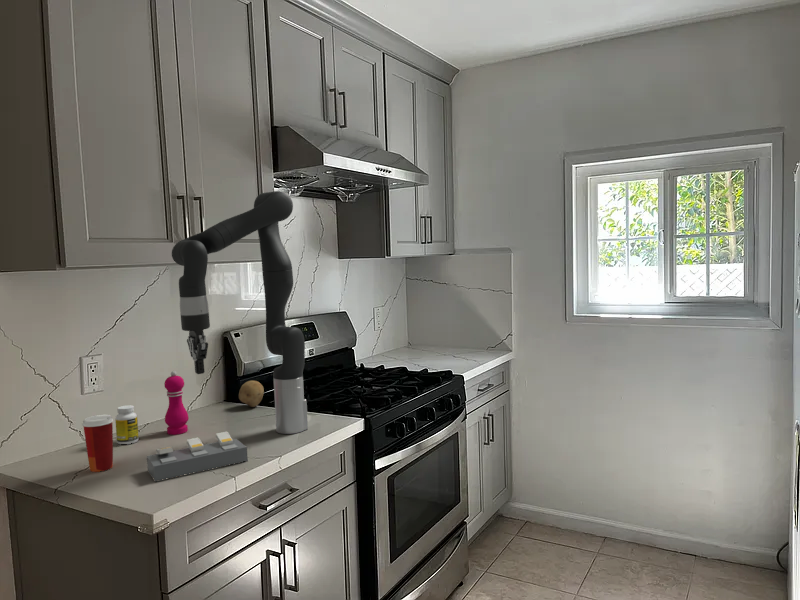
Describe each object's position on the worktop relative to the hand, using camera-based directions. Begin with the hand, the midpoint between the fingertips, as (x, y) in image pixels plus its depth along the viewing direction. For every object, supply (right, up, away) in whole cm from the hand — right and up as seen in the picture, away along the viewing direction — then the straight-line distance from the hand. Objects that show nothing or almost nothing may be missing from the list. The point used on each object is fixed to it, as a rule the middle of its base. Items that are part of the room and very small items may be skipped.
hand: (199, 373), depth 172 cm
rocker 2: (+7, -18, -1) cm, 20 cm away
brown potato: (+1, -19, +54) cm, 58 cm away
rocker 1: (-6, -19, -10) cm, 23 cm away
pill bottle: (-28, -24, +17) cm, 40 cm away
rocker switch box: (+2, -24, -7) cm, 25 cm away
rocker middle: (+1, -19, -6) cm, 20 cm away
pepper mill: (-16, -22, +26) cm, 38 cm away
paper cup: (-25, -25, -6) cm, 36 cm away
